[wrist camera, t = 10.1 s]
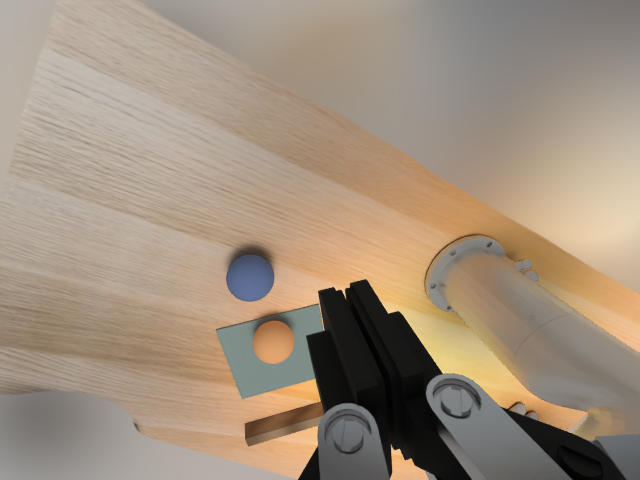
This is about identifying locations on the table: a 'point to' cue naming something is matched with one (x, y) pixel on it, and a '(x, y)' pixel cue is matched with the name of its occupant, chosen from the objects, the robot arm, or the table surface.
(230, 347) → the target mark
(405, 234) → the table surface
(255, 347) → the orange ball
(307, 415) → the rail
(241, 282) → the blue ball
